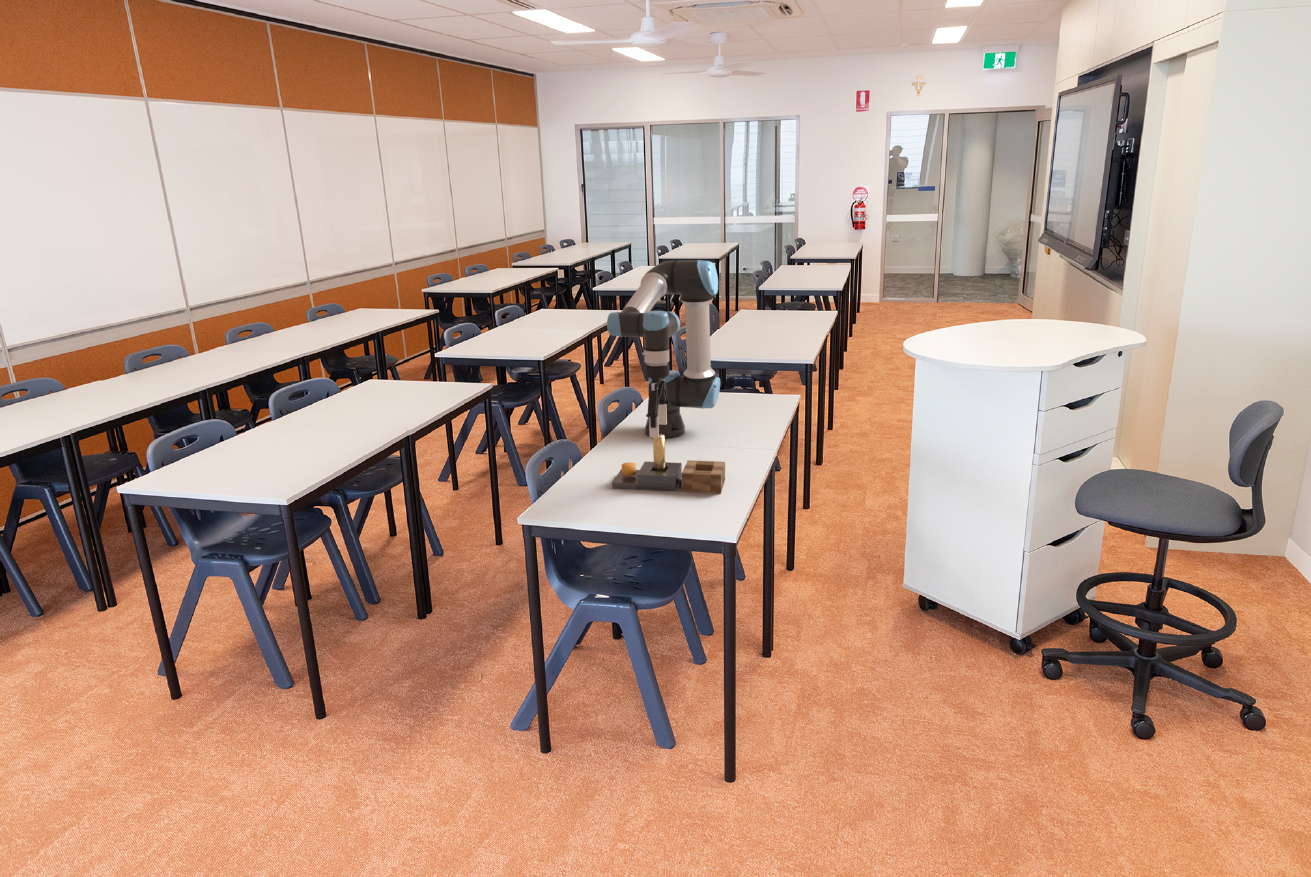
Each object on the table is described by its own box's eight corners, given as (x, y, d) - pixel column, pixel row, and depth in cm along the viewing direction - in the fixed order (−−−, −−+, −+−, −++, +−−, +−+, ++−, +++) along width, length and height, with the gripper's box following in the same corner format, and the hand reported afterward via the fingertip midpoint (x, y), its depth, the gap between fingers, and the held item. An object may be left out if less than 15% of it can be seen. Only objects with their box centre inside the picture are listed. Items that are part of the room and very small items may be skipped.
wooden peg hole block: (687, 477, 255) (687, 460, 253) (725, 479, 253) (725, 461, 251) (681, 491, 244) (681, 473, 242) (720, 493, 242) (720, 475, 240)
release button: (623, 471, 254) (623, 462, 254) (637, 471, 254) (636, 462, 253) (620, 475, 250) (620, 466, 249) (634, 476, 250) (633, 467, 249)
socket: (621, 474, 259) (620, 460, 258) (681, 477, 256) (681, 462, 254) (612, 488, 248) (611, 473, 247) (675, 491, 244) (675, 476, 243)
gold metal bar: (655, 481, 253) (654, 433, 248) (666, 481, 252) (665, 433, 247) (653, 485, 250) (651, 437, 245) (664, 485, 249) (663, 437, 244)
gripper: (652, 354, 251) (654, 418, 258) (635, 372, 228) (638, 442, 234) (675, 354, 250) (677, 419, 256) (661, 372, 227) (663, 443, 233)
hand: (658, 430), depth 245 cm, fingers open, 13 cm apart
